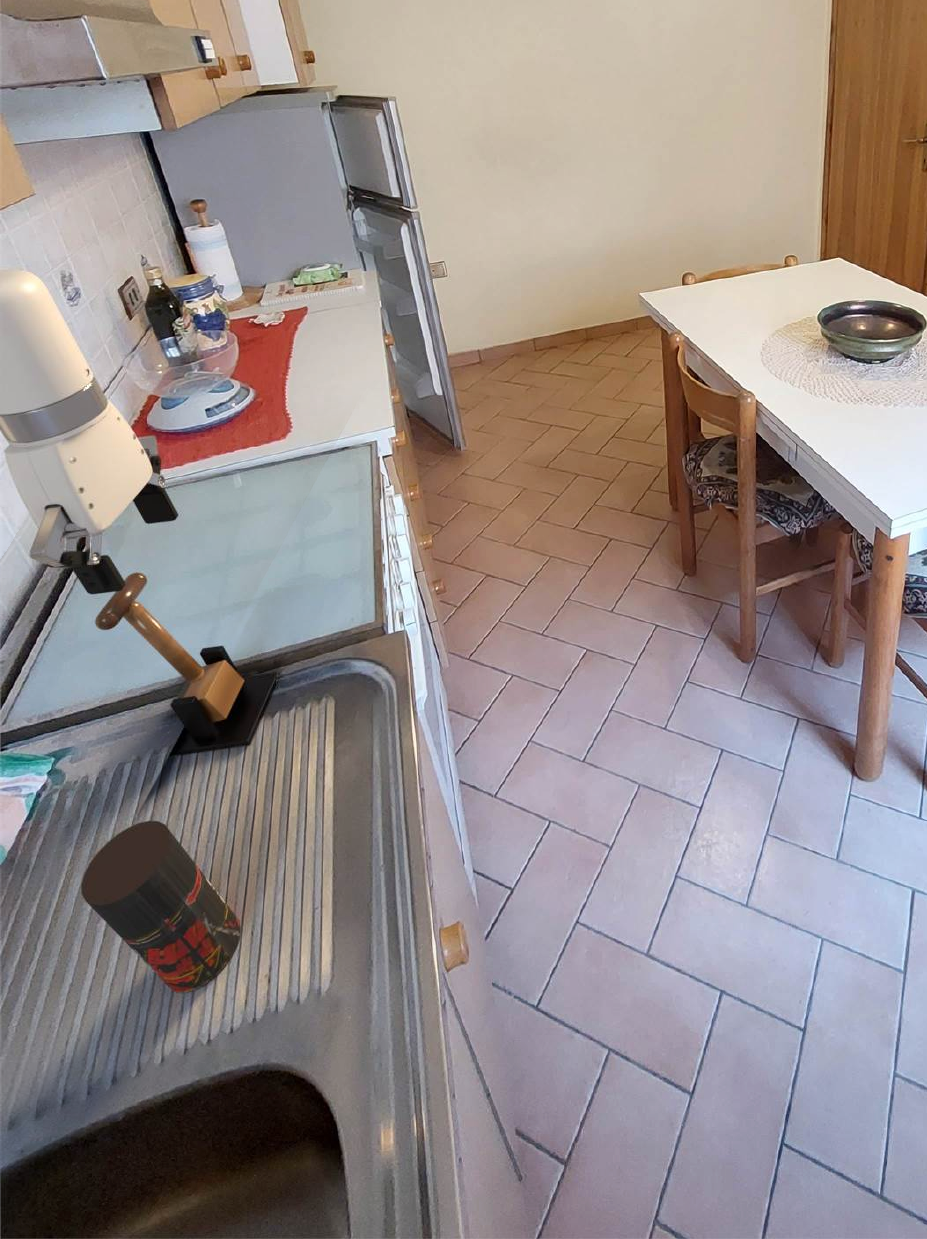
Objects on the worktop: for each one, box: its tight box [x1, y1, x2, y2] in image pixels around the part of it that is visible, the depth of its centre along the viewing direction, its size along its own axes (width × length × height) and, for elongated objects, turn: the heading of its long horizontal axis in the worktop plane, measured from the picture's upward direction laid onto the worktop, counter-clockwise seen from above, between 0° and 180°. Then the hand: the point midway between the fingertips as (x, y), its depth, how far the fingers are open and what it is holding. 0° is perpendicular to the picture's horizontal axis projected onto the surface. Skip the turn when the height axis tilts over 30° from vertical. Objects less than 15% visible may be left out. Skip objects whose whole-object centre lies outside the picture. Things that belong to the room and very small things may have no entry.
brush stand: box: [168, 645, 280, 758], centre depth 81 cm, size 10×9×7 cm
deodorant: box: [80, 820, 242, 994], centre depth 58 cm, size 6×6×15 cm
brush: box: [94, 572, 244, 722], centre depth 77 cm, size 19×7×4 cm
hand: (137, 553), depth 70 cm, fingers open, 9 cm apart
